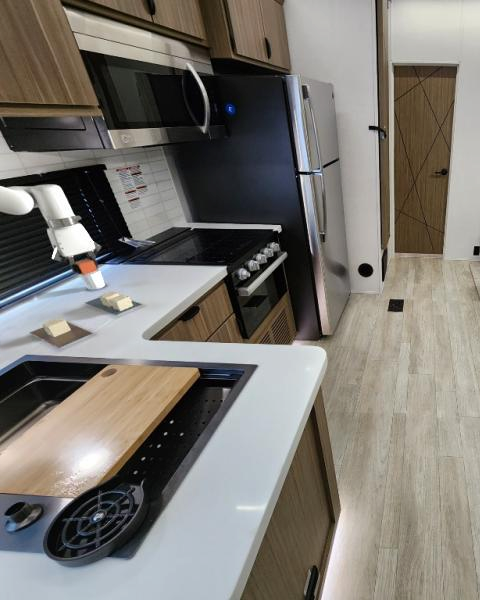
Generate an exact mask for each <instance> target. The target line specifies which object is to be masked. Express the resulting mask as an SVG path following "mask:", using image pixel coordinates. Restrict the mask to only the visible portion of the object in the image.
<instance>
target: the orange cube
mask: <svg viewBox="0 0 480 600" xmlns="http://www.w3.org/2000/svg"><path fill="white" fill-rule="evenodd" d="M74 262H75V263H76V264H77V265H78V267H79V269H80V271H81V274H82V275H85V274H88V273H91V272H95V271H98V270H97V268H96V266H95V264H94V262H93V261H92V260H89V259H88V258H85V259H81V260H77V261H74Z"/></svg>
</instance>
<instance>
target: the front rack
mask: <svg viewBox="0 0 480 600" xmlns="http://www.w3.org/2000/svg"><path fill="white" fill-rule="evenodd" d="M66 322H67V324H68V326H69V328H70V329H71V331H68V332H66V333H63V334H61V335H58V336H56V337H53V336H51V335H49V334H47V332H46V331H45V329H44V327H43V326H42V327H40V328H37V329H34V330H33V331H30V332H29V334H31V335H33V336H34V337H36V338H39V339H40V340H42V341H45V342H47V343H48V344H50V345H52V346H55V347H56V348H58V349H60V348H63V347H65V346H68V345H69V344H72V343H74V342H76V341H78V340H81V339H83V338H85V337H88V336H90V335H92V334H93V333H94V332H92V331H89V330H87V329H84V328H82V327H80V326H77V325H75V324H73V323H71V322H69V321H66Z"/></svg>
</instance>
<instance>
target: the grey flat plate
mask: <svg viewBox="0 0 480 600" xmlns="http://www.w3.org/2000/svg"><path fill="white" fill-rule="evenodd" d="M131 302H132V304H133V306H132V307H129V308H127V309H125V310H122V311H119V310H116V309H114V308H113V306H112V307H108V306H105V305H103V303H102V301H101V299H100V297H99V296H98V297H96V298H94V299H91V300H88V301H86V302H84V304H85V305H88V306H90V307H94V308H95V309H96V308H97V309H99V310H102V311H104V312H107V313H110V314H112V315H115V316H118V315H120V314H123V313H125V312H128V311H130V310H133V309H135V308H137V307H140V306H142V305H143V303H141V302H137V301H135V300H131Z"/></svg>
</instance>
